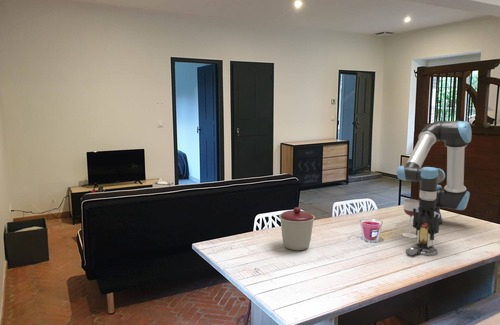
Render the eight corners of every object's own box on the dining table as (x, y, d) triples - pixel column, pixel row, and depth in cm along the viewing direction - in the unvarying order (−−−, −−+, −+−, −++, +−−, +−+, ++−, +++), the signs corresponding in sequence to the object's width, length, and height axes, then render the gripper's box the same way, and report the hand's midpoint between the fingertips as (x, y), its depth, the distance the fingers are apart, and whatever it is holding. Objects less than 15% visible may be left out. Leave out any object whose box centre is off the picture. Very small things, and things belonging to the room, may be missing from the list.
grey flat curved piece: (420, 244, 193) (420, 237, 192) (442, 252, 183) (442, 245, 182) (398, 251, 184) (398, 244, 183) (419, 260, 173) (420, 252, 173)
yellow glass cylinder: (423, 242, 188) (424, 222, 186) (432, 245, 183) (433, 224, 182) (416, 244, 185) (418, 223, 183) (426, 247, 181) (427, 226, 179)
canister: (313, 255, 180) (314, 213, 177) (276, 252, 184) (277, 211, 180) (314, 241, 197) (315, 203, 194) (281, 239, 201) (281, 202, 198)
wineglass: (416, 239, 201) (418, 203, 198) (399, 235, 206) (401, 201, 203) (419, 235, 208) (422, 200, 205) (403, 231, 213) (405, 198, 210)
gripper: (406, 196, 186) (403, 239, 190) (440, 203, 171) (436, 251, 174) (415, 194, 190) (412, 237, 194) (449, 201, 175) (446, 248, 178)
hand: (424, 243), depth 184 cm, fingers closed on yellow glass cylinder, 5 cm apart
